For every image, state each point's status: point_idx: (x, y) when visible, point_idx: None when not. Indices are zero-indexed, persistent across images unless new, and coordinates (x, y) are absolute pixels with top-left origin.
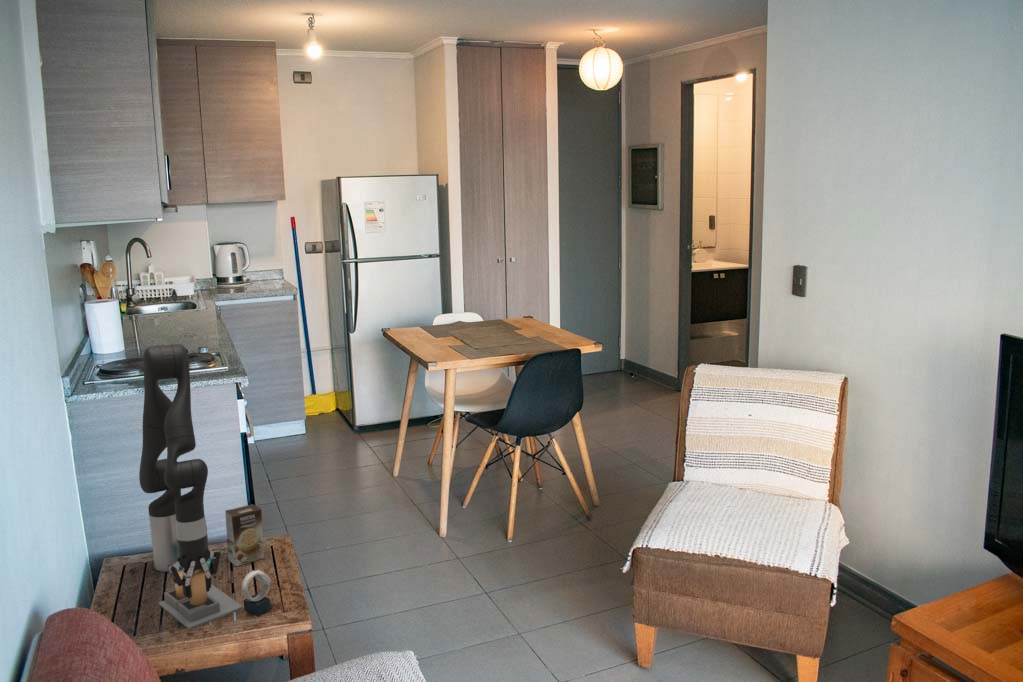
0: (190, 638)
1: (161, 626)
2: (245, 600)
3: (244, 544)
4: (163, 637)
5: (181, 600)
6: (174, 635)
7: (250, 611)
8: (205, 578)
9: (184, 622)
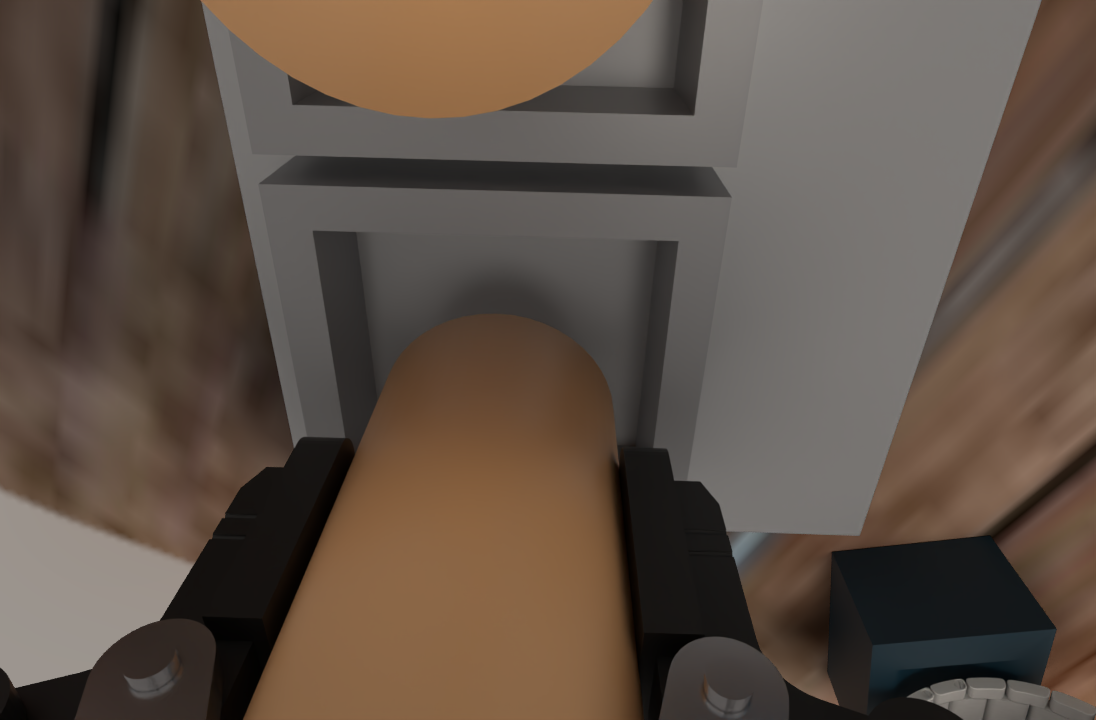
0: None
1: (87, 268)
2: (877, 660)
3: None
4: (86, 461)
5: (341, 141)
6: (181, 494)
7: (835, 626)
8: (646, 715)
9: (302, 416)
